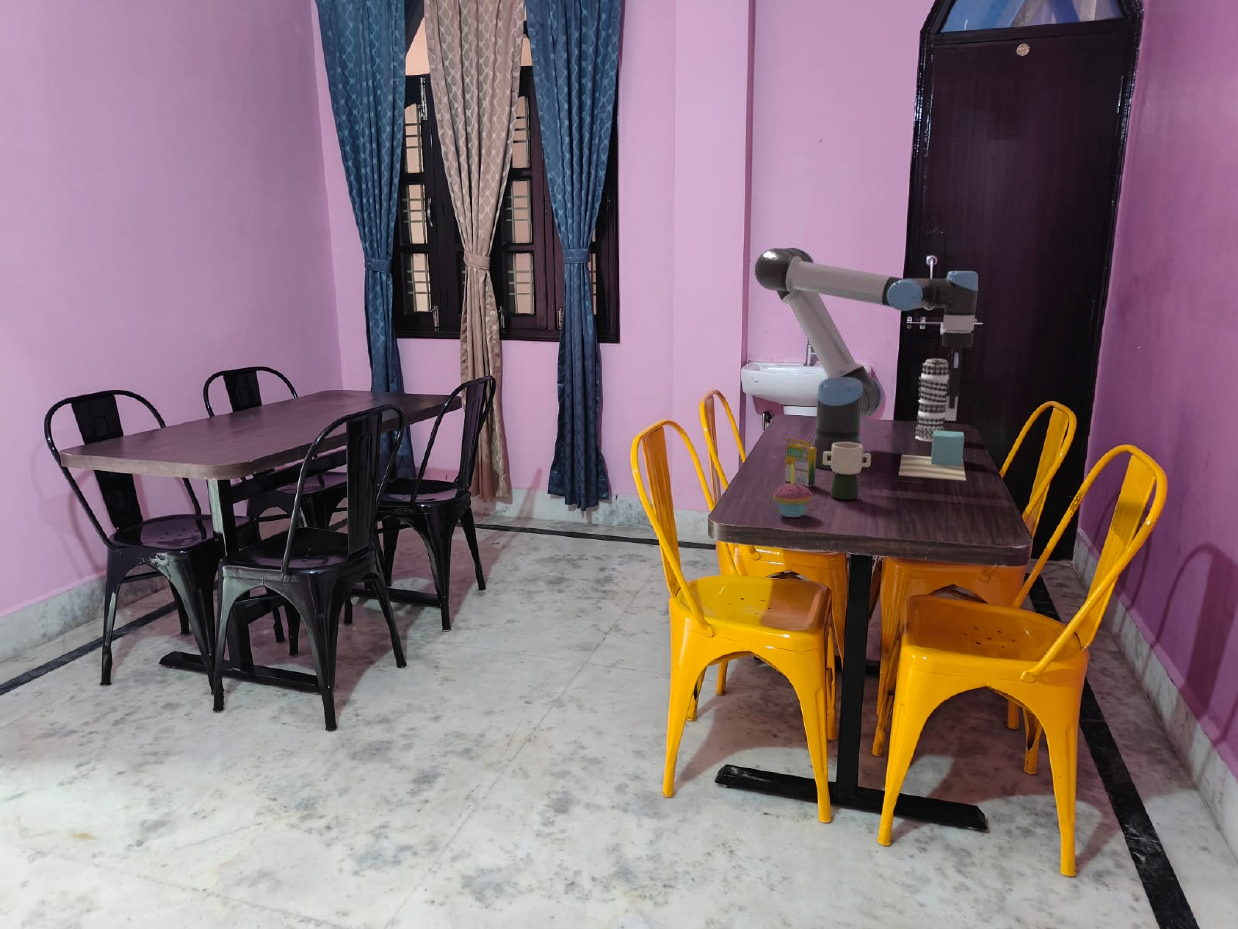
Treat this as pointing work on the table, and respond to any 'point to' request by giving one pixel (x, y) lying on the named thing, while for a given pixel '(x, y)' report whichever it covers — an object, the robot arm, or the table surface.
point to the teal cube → (947, 448)
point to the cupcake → (792, 497)
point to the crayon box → (800, 462)
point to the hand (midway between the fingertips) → (950, 419)
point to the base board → (929, 468)
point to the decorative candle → (932, 398)
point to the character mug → (846, 468)
